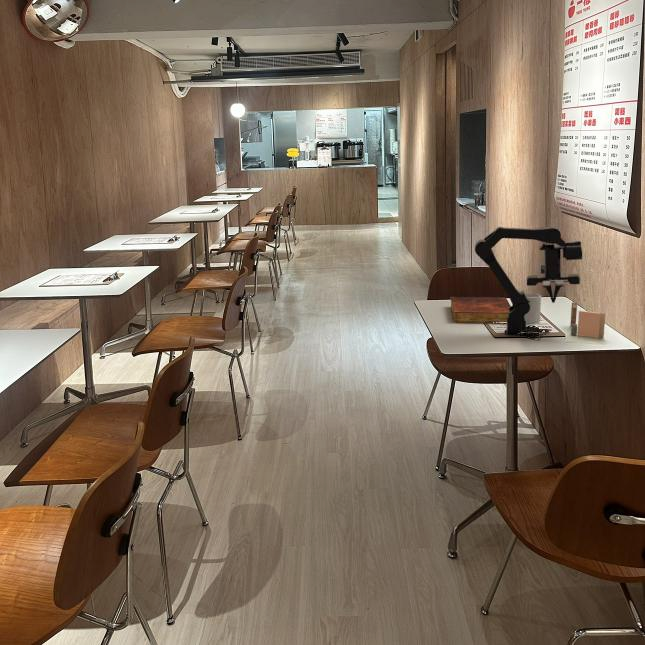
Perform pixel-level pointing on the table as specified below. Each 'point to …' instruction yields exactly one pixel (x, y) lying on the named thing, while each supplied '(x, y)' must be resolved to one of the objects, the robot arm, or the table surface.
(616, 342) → the table surface
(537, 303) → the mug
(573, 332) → the fence frame
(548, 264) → the robot arm
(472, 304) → the book
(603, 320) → the block
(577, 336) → the card
